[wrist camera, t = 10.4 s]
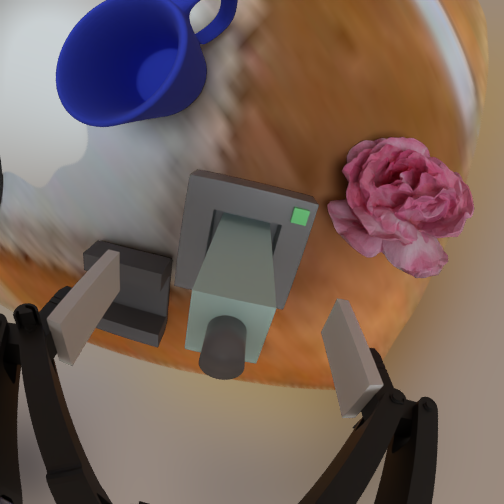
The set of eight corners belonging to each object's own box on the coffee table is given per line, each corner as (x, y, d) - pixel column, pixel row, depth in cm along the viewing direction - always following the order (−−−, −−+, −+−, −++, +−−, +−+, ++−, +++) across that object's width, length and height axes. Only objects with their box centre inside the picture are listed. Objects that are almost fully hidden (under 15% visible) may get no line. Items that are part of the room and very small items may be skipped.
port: (181, 271, 27) (173, 287, 24) (197, 169, 23) (188, 175, 20) (281, 293, 27) (283, 312, 25) (313, 196, 23) (319, 206, 21)
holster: (104, 307, 29) (91, 326, 26) (101, 237, 25) (83, 253, 22) (166, 325, 30) (157, 347, 27) (173, 255, 26) (161, 274, 23)
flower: (323, 146, 24) (382, 84, 15) (403, 182, 26) (471, 145, 16) (304, 265, 22) (381, 246, 13) (396, 288, 24) (480, 282, 14)
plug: (215, 254, 25) (174, 381, 12) (223, 212, 24) (180, 322, 11) (258, 263, 26) (255, 397, 13) (269, 222, 24) (278, 343, 11)
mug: (274, 49, 18) (284, 0, 9) (165, 143, 22) (106, 158, 13) (210, -6, 16) (182, -67, 7) (109, 85, 19) (36, 76, 10)
